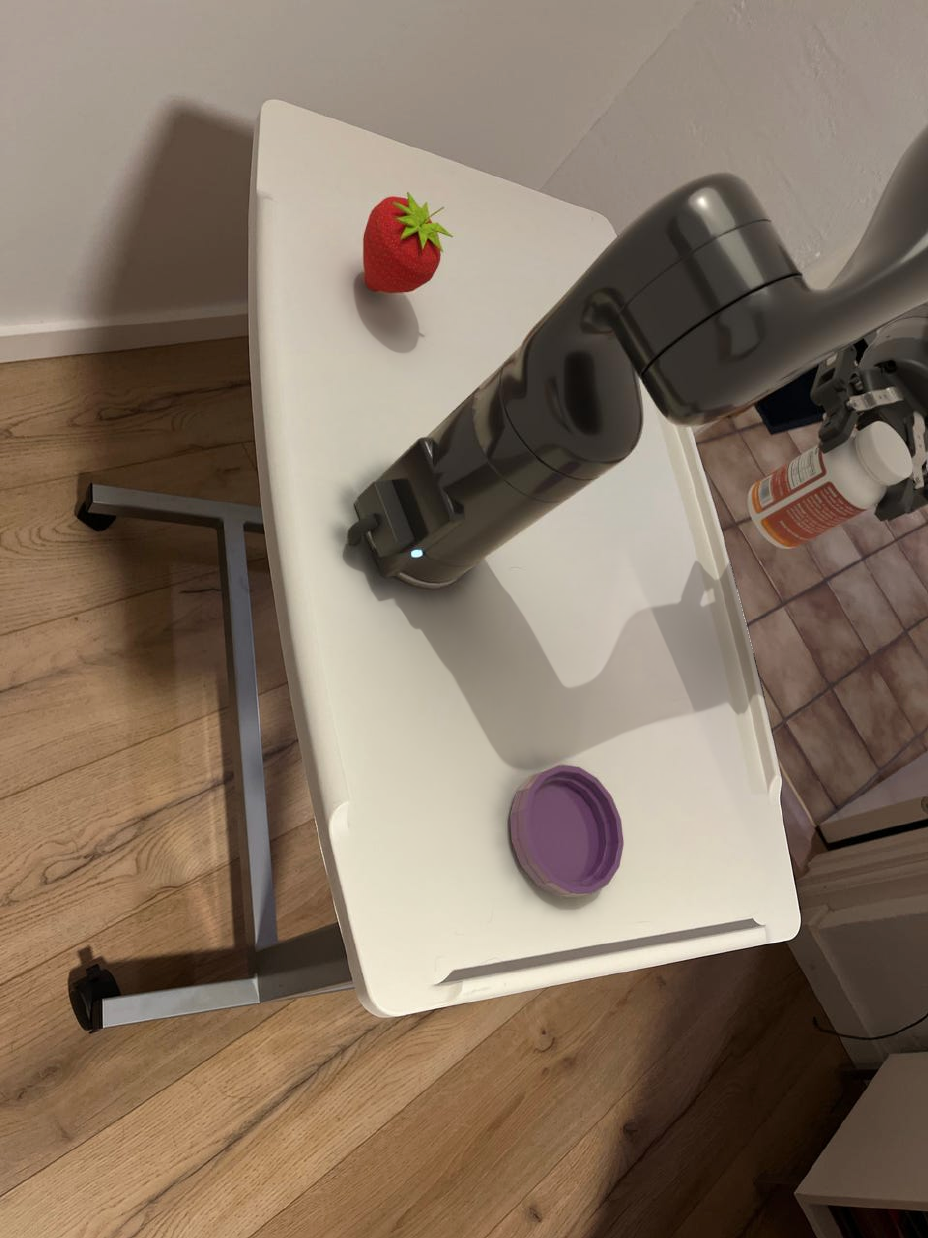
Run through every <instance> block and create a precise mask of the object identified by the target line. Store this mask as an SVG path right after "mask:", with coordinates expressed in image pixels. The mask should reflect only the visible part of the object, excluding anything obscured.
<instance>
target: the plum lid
mask: <svg viewBox="0 0 928 1238" xmlns="http://www.w3.org/2000/svg"><path fill="white" fill-rule="evenodd" d="M509 820H510V835H511V843H512V847H513V848H514V852H515V854H516V856H517V859H518V862H519V864H520V867H521V868H522V869H523V870H524V871H525V872H526V874H527V875H528V876H529V878H530V879H531V881H533V882H534V884H535V885H536V886H537V887H539V888H540V889H542V890H544V891H546V892H548V893H550V894H552V895H553V896H555V897H565V898H566V897H567V898H568V897H571V898H576V897H577V898H578V897H582V896H588V895H592V894H594V893H596V892H598V891H599V890H601V889H603V888H605V887H606V886H608V885H609V884H610V882H611V881H612V879H613V877H614V876H615V874H616V873H617V872H618V870H619V868H620V865H621V862H622V861H621V860H622V855H623V850H624V845H625V844H624V843H625V842H624V841H625V840H624V833H623V825H622V818H621V815H620V813H619V811H618V809H617V806H616V803H615V802H614V798H613V796H612V795H611V794H610V792H609V791H608V789H606V787H605V786H604V784H602V782H601V781H600V780H599V778H597V777H596V776H594V775H593V774H592V773H589V772H588V771H587V770H585V769H583V768H581V767H580V766H576V765H567V764H558V765H555V766H552V767H549V768H547V769H543V770H541V771H538V772H537V773H534V774H532V775H530V776H528V777H527V778H526V780H525V781H524V782H523V783H522V785H521V786H520V787H519V788H518V790H517V791H516V793H515V795H514V799H513V802H512V807H511V811H510V815H509Z"/></svg>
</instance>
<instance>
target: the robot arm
mask: <svg viewBox="0 0 928 1238" xmlns="http://www.w3.org/2000/svg"><path fill="white" fill-rule="evenodd" d="M874 332H876V337H875V338H874V339H873V340H872V342H870V344H869V345H868V347H867V348H866V349H865V351H864V352H863V354H862V355H863V356H862V357H861V359H860V362H858V361H857V360H856V358H857V355H858V352H857V349H856V347H855V346H854V345H855V344H856V343H858V342H860V341H861V340H863V339H865V338H866V337H868V336H870V335H872V334H873V333H874ZM816 367H818V368H817V371H816V374H815V377H814V381H813V384H812V387H811V389H810V390H811V391H810V393H809V395H810V399H811V400H812V403H813V404H814V405H815V406H817V407H820V406H822V407H823V409H824V411H825V413H823V415H822V419H823V421H822V424H821V426H820V428H819V429H818V431H817V437H818V439H819V440H820V441H819V442H818V444H817V445H818V446H817V447H818V448H819V449H820V450H821V452H822V453H823V454H826V453H828V452H829V451H831V450H833V449H835V448H836V447H838V446H840V445H841V444H843V443H844V442H846V441H847V440H848V439H849V437H850V435H851V433H852V434H853V431H854V429H856V430H857V432H859V431H861V430H862V429H864V428H865V427H867V426H869V425H870V424H872V423H874V422H877V421H881V422H884V423H886V424H888V425H889V426H891V427H892V428H893V429H894V430H895V431H896V432H897V433H898V434H899V436H900V437H901V438H902V440H903V441H904V443H905V444H906V446H907V448H908V450H909V453H910V456H911V459H912V464H913V469H912V473H911V475H910V476H909V477H907V478H906V479H904V480H902V481H900V482H899V483H897V484H895V485H890V486H887V489H886V492H885V495H884V497H883V498H882V500H881V501H880V502H879V503H878V504H876V507H875V510H874V513H873V515H874V516H875V517H876V518H877V519H878V521H879V522H885V521H888V522H892V521H894V520H896V519H897V518H900V517H902V516H904V515H906V514H907V515H910V514H913V513H915V512H917V511H918V510H919V509H921V508H924V507H926V506H927V505H928V123H927V124H926V125H925V126H924V127H923V128H921V130H920V131H919V132H918V134H917V135H916V136H915V137H914V138H913V140H912V141H911V143H909V146H907V148H906V149H905V151H904V152H903V154H902V156H901V157H900V159H899V161H898V162H897V164H896V166H895V168H894V170H893V171H892V173H891V176H890V177H889V179H888V181H887V183H886V185H885V187H884V189H883V191H882V192H881V195H880V197H879V199H878V202H877V204H876V206H875V209H874V210H873V212H872V215H871V218H870V220H869V222H868V224H867V227H866V228H865V230H864V232H863V234H862V237H861V238H860V240H859V242H858V244H857V245H856V247H855V248H854V250H853V252H852V254H851V255H850V257H849V258H848V259H847V261H846V263H845V264H844V266H843V267H842V268H841V270H840V271H839V272H838V273H837V274H836V276H835V277H834V278H833V280H832V281H831V283H829V284H828V285H827V287H826V288H822V289H818V288H814V287H812V286H811V285H810V284H809V282H808V281H807V279H806V278H805V276H804V274H803V272H802V270H801V269H800V267H799V265H798V264H797V262H796V260H795V259H794V257H793V255H792V253H791V252H790V250H789V248H788V247H787V245H786V243H785V242H784V239H783V238H782V237H781V235H780V233H779V231H778V229H777V228H776V226H775V224H774V222H772V220H771V217H770V216H769V214H768V212H767V211H766V209H765V207H764V205H763V204H762V203H761V201H760V199H759V198H758V195H757V194H756V193H755V191H754V190H753V189H752V187H751V186H750V185H749V183H748V182H747V181H746V180H745V179H743V178H742V177H741V176H739V175H738V174H735V173H731V172H728V171H727V172H725V171H718V172H710V173H706V174H703V175H700V176H698V177H695V178H693V179H691V180H688V181H686V182H683V183H682V184H680V185H678V186H676V187H675V188H673V189H672V190H671V191H669V192H668V193H667V194H665V195H663V196H662V197H660V198H659V199H657V200H655V202H653V203H652V204H651V205H649V206H648V207H647V208H646V209H645V210H644V211H642V213H640V214H639V215H638V216H637V217H636V218H635V219H634V220H633V221H631V222H630V223H629V224H628V225H627V226H626V227H624V229H623V230H622V231H621V232H620V233H619V234H618V235H617V236H616V237H615V238H614V239H613V240H612V241H611V242H610V243H609V244H608V245H607V247H606V248H604V249H603V251H602V252H600V254H599V255H598V256H597V258H595V260H594V261H593V262H592V263H591V264H590V265H589V267H588V268H586V270H585V271H584V272H583V273H582V274H581V275H580V277H579V278H578V279H577V280H576V281H575V282H574V283H573V284H572V286H571V287H570V288H569V289H568V290H567V291H566V292H565V293H564V294H563V295H562V296H561V297H560V299H559V300H557V302H556V303H555V304H554V305H553V306H552V307H551V308H550V309H549V310H547V312H546V313H545V314H544V315H543V316H542V317H541V318H540V319H539V320H538V322H537V323H535V325H534V326H532V328H531V329H530V330H529V331H528V333H527V334H526V335H525V337H524V339H523V340H522V342H521V344H520V346H519V347H517V349H515V350H514V351H513V352H512V354H510V356H509V357H508V358H507V359H506V360H505V361H504V362H503V363H501V365H499V366H498V367H497V368H496V369H495V370H494V371H493V372H492V373H491V374H490V375H489V376H488V377H487V378H486V379H485V380H484V381H482V383H481V384H479V386H478V387H476V388H475V389H474V391H472V392H471V393H470V394H469V395H468V396H467V397H466V398H465V399H464V400H463V401H462V402H461V403H460V404H458V406H457V407H456V408H455V409H453V410H452V412H450V413H449V414H448V415H447V416H446V417H445V418H444V419H443V420H442V421H441V422H440V423H439V424H438V425H436V427H435V428H434V429H432V431H431V432H430V433H429V434H427V435H426V436H424V437H420V438H417V439H416V441H414V442H413V444H411V445H410V446H409V447H408V448H407V449H406V450H405V451H404V452H403V453H402V454H401V455H399V457H398V458H397V459H396V460H395V461H394V462H393V463H392V464H391V465H390V466H389V467H388V468H387V469H386V470H385V471H384V472H383V473H382V474H380V476H379V477H378V478H376V479H375V481H373V482H372V483H371V484H370V485H368V486H367V487H366V488H365V489H364V490H363V491H362V492H361V493H360V494H359V495H358V496H357V498H356V499H355V500H354V507H355V509H356V511H357V514H358V516H359V520H358V521H356V522H355V523H353V525H351V526H350V527H349V528H348V530H347V535H346V539H347V540H346V541H347V542H346V543H348V545H349V546H351V547H358V546H359V545H360V544H361V541H362V536H364V535H365V536H366V537H365V538H366V539H367V543H368V545H369V546H370V548H371V551H372V554H373V557H374V560H375V562H376V565H377V567H378V571H379V572H380V574H381V576H382V577H384V578H389V577H396V578H398V579H399V580H401V581H403V582H405V583H407V584H409V585H412V586H414V587H418V588H422V589H441V588H444V587H447V586H449V585H451V584H453V583H454V582H456V581H458V580H459V579H460V578H461V577H462V576H463V575H464V574H465V573H466V572H468V571H469V570H470V569H472V568H473V567H475V566H476V565H478V564H479V563H481V562H482V561H483V560H484V559H486V558H487V557H488V556H490V555H492V554H493V553H494V552H496V551H497V550H499V549H500V548H501V547H503V546H504V545H505V544H507V543H508V542H510V541H511V540H512V539H514V538H515V537H517V536H518V535H519V534H521V533H523V532H524V531H525V530H526V529H529V528H530V527H531V526H532V525H534V524H535V523H537V522H538V521H540V520H541V519H542V518H544V517H545V516H546V515H548V514H550V513H551V512H553V510H556V508H558V507H559V506H560V505H562V504H563V503H565V502H566V501H567V500H570V499H571V498H572V497H574V496H575V495H577V494H578V493H580V492H581V491H582V490H583V489H585V488H586V487H588V486H589V485H590V484H592V483H594V482H595V481H597V479H599V478H601V477H602V476H604V475H605V474H607V473H608V472H610V471H611V470H613V469H614V468H616V467H617V466H618V465H620V464H621V463H623V462H624V461H625V460H626V459H627V458H629V456H631V454H632V452H634V450H635V449H636V447H637V446H638V444H639V442H640V440H641V437H642V433H643V428H644V420H645V418H644V413H645V412H644V402H643V396H642V389H641V384H640V381H641V383H642V385H643V386H644V388H645V390H646V392H647V393H648V395H649V397H650V399H651V400H652V402H653V403H654V405H655V406H656V408H657V410H659V412H660V413H661V415H662V416H663V417H664V418H665V419H666V420H667V421H668V422H669V423H670V424H672V425H674V426H677V427H679V428H680V427H681V428H695V427H700V426H703V425H707V424H711V423H714V422H716V421H719V420H721V419H724V418H726V417H728V416H731V415H733V414H735V413H737V412H739V411H741V410H743V409H745V408H747V407H749V406H751V405H753V404H754V403H756V402H758V401H760V400H762V399H764V398H765V397H767V396H768V395H770V394H772V393H774V392H775V391H778V390H779V389H781V388H783V387H784V386H786V385H788V384H790V383H791V382H793V381H794V380H796V379H798V378H800V377H801V376H802V375H804V374H806V373H808V372H809V371H811V370H812V369H814V368H816ZM845 390H846V391H845Z"/></svg>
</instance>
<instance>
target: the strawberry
mask: <svg viewBox="0 0 928 1238" xmlns="http://www.w3.org/2000/svg"><path fill="white" fill-rule="evenodd" d="M406 195H407V197H401V196H387V197H385V198H383V199H382V200H381V201H380V202H379V203H378V204H376V205H375V206H374V207H373V208H372V209H371V211H370V214H369V216H368V220H367V223H366V226H365V229H364V232H363V239H362V264H363V270H364V282H365V285H366V287H367V289H368V290H369V291H372V292H374V293H375V292H377V293H378V292H380V293H386V294H403V293H404V294H405V293H411V292H413V291H415V290H416V289H417V290H418V289H419V288H420V287H422V286H424V285H425V284H427V283H429V282H430V281H431V280H432V278H433V277H434V275H435V273H436V271H437V269H438V268H439V265H440V263H441V256H442V253H444V250H443V247H442V244H441V240H440V237H439V234H441V235H444V236H447V237H451V238H453V237H454V236H453V235H452V234H451V233H450V232H449V231H447V230H446V229H445V228H444V227H443V226H442V225H441V224H440V223H438V222H433V221H432V219H431V218H432V217H433V216H435V215H436V214H437V213H439V212H440V211H442V210H443V209H444V208H445V206H444V205H443V206H442V207H440V208H438V209H437V210H436V211H434V212H433V213H432V214H430V212H429V206H428V205H429V204H428V201H426V202H424V204H423V205H422V207H420V205H419V204H418V202H416V200H415V199H414V197H413V196H412V194H410V192H409V191H407V192H406ZM438 233H439V234H438ZM441 252H442V253H441Z"/></svg>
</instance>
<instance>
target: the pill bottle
mask: <svg viewBox="0 0 928 1238" xmlns="http://www.w3.org/2000/svg"><path fill="white" fill-rule="evenodd" d="M817 446H818V444H816V445H815V446H813V447H811V448H810V449H808V450H807V451H805V452H803V453H801V454H800V455H798V456H797V457H795V458H794V459H792V460H790V461H789V462H787V463H785V464H783V465H782V466H780V467H778V468H776V469H775V470H774V471H772V472H770V473H768V474H767V475H765V476H763V477H762V478H760V479H759V480H758V481H756V482H755V483H754V484H752V486H751V487H750V489H749V491H748V495H747V508H748V512H749V515H750V518H751V520H752V522H753V524H754V525H755V527H756V528H757V530H758V531H759V532H760V534H761V535H762V536H763V537H764V538H765V540H767V541H768V542H769V543H771V545H773V546H774V547H777V548H780V549H783V550H791V549H794V548H797V547H799V546H801V545H803V544H805V543H806V542H808V541H810V540H812V539H814V538H816V537H819V536H820V535H822V534H824V533H826V532H828V531H830V530H832V529H834V528H835V527H837V526H839V525H841V524H843V523H845V522H847V521H849V520H851V519H853V518H855V517H857V516H859V515H861V514H862V513H864V512H866V511H869V510H870V509H871V508H873V507H875V506H877V505H878V503H879V502H880V501H881V500H882V498H883V497H884V495H885V492H886V489H887V486H890V485H895V484H897V483H899V482H900V481H902V480H904V479H906V478H907V477H909V476H910V475H911V473H912V469H913V464H912V459H911V456H910V453H909V450H908V448H907V446H906V444H905V443H904V441H903V440H902V438H901V437H900V436H899V434H898V433H897V432H896V431H895V430H894V429H893V428H892V427H891V426H889V425H888V424H886V423H884V422H881V421H877V422H874V423H872V424H870V425H869V426H867V427H865V428H864V429H862V430H861V431H857V432H856V434H855V433H853V432H852V433H851V435H850V437H849V439H848V440H847V441H846V442H844V443H843V444H841V445H840V446H838V447H836V448H835V449H833V450H831V451H829V452H828V453H826V454H823V453H822V452H821V450H820V449H819V448H818V447H817Z"/></svg>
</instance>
